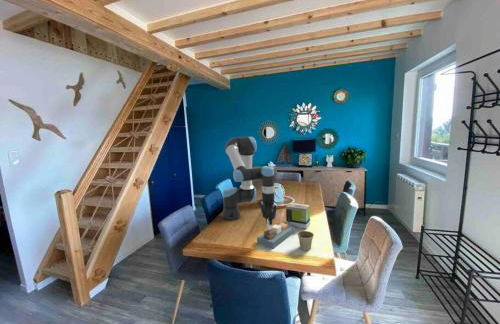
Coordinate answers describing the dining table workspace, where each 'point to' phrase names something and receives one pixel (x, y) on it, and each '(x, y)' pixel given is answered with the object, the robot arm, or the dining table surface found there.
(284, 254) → the dining table surface
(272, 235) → the walnut key
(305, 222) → the tea box
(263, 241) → the grey slotted tray
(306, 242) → the flower pot
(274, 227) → the cream key
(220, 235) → the dining table surface
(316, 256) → the dining table surface
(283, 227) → the terracotta key
